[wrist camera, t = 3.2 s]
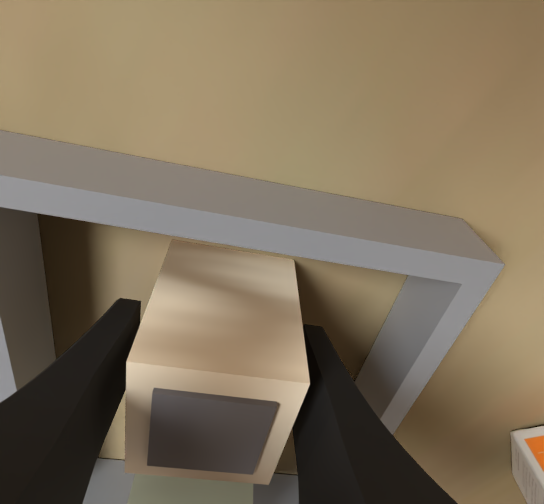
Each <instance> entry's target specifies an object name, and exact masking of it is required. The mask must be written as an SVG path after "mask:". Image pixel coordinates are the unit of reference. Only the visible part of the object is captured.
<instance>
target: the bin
mask: <svg viewBox="0 0 544 504" xmlns="http://www.w3.org/2000/svg"><path fill="white" fill-rule="evenodd" d="M37 213H40V214H46V215H52V216H58V217H64V218H70V219H76V220H82V221H88V222H94V223H100V224H106V225H112V226H118V227H124V228H130V229H136V230H142V231H148V232H154V233H160V234H166V235H172V236H178V237H184V238H190V239H196V240H202V241H208V242H214V243H220V244H226V245H232V246H238V247H244V248H250V249H256V250H262V251H268V252H274V253H280V254H286V255H292V256H298V257H304V258H310V259H316V260H322V261H328V262H334V263H340V264H346V265H352V266H358V267H364V268H370V269H376V270H382V271H388V272H394V273H400V274H406V275H408V277H407V279H406V281H405V283H404V285H403V287H402V289H401V291H400V293H399V295H398V297H397V299H396V301H395V303H394V305H393V307H392V309H391V310H390V312H389V314H388V316H387V318H386V320H385V322H384V324H383V326H382V328H381V330H380V332H379V334H378V336H377V338H376V340H375V342H374V344H373V346H372V348H371V350H370V352H369V354H368V356H367V358H366V360H365V362H364V364H363V366H362V368H361V370H360V372H359V374H358V376H357V378H356V380H355V384H356V386H357V387H358V389H359V390H360V392H361V393H362V395H363V396H364V398H365V399H366V401H367V402H368V403H369V405H370V406H371V408H372V409H373V411H374V412H375V413H376V415H377V416H378V417H379V419H380V420H381V421H382V423H383V424H384V425H385V426H386V428H387V429H388V430H389V431H390V433H391V434H392V435H393V434H394V432H395V431H396V429H397V428H398V426H399V425H400V423H401V422H402V420H403V419H404V417H405V416H406V414H407V413H408V411H409V410H410V408H411V407H412V405H413V403H414V402H415V400H416V399H417V397H418V396H419V394H420V393H421V391H422V390H423V388H424V387H425V385H426V384H427V382H428V381H429V379H430V378H431V376H432V375H433V373H434V372H435V370H436V369H437V367H438V366H439V364H440V363H441V361H442V360H443V358H444V356H445V355H446V353H447V352H448V350H449V349H450V347H451V346H452V344H453V343H454V341H455V340H456V338H457V337H458V335H459V334H460V332H461V331H462V329H463V328H464V326H465V325H466V323H467V322H468V320H469V319H470V317H471V316H472V314H473V313H474V311H475V309H476V308H477V306H478V305H479V303H480V302H481V300H482V299H483V297H484V296H485V294H486V293H487V291H488V290H489V288H490V287H491V285H492V284H493V282H494V281H495V279H496V278H497V276H498V275H499V273H500V272H501V270H502V269H503V267H504V266H505V264H504V263H503V262H502V261H501V260H500V259H499V257H498V256H497V255H496V254H495V253H494V252H493V251H492V250H491V249H490V248H489V247H488V246H487V245H486V244H485V243H484V241H483V240H482V239H481V238H480V237H479V236H478V235H477V234H476V233H475V232H474V231H473V230H472V229H471V228H470V227H469V225H468V224H467V223H466V222H465V221H464V220H463V219H460V218H455V217H450V216H445V215H439V214H434V213H429V212H424V211H419V210H413V209H408V208H403V207H398V206H393V205H387V204H382V203H377V202H372V201H367V200H361V199H356V198H351V197H346V196H341V195H335V194H330V193H325V192H320V191H315V190H309V189H304V188H299V187H294V186H289V185H283V184H278V183H273V182H268V181H262V180H257V179H252V178H247V177H242V176H236V175H231V174H226V173H221V172H216V171H210V170H205V169H200V168H195V167H190V166H184V165H179V164H174V163H169V162H164V161H158V160H153V159H148V158H143V157H138V156H132V155H127V154H122V153H117V152H111V151H106V150H101V149H96V148H91V147H85V146H80V145H75V144H70V143H65V142H59V141H54V140H49V139H44V138H39V137H33V136H28V135H23V134H18V133H13V132H7V131H2V130H0V402H2V401H3V400H5V399H6V398H8V397H9V396H10V395H12V394H13V393H15V392H16V391H17V390H19V389H20V388H21V387H23V386H24V385H25V384H27V383H28V382H29V381H31V380H32V379H33V378H34V377H36V376H37V375H38V374H39V373H41V372H42V371H43V370H44V369H46V368H47V367H48V366H49V365H50V364H52V363H53V362H54V361H55V360H56V355H55V348H54V340H53V332H52V324H51V316H50V309H49V301H48V293H47V285H46V278H45V270H44V262H43V254H42V246H41V239H40V231H39V223H38V215H37ZM134 476H135V474H133V473H125V461H124V460H113V459H101V458H97V460H96V463H95V466H94V469H93V472H92V475H91V479H90V482H89V485H88V488H87V491H86V494H85V498H84V501H83V504H127V502H128V499H129V495H130V491H131V487H132V483H133V480H134ZM253 504H299V489H298V476H297V475H286V474H274V473H273V475H272V478H271V480H270V483H269V485H266V484H254V483H253Z"/></svg>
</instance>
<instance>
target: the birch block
mask: <svg viewBox="0 0 544 504" xmlns="http://www.w3.org/2000/svg"><path fill="white" fill-rule="evenodd" d="M309 385H310V379H309V371H308V363H307V356H306V348H305V340H304V333H303V325H302V317H301V310H300V302H299V294H298V287H297V279H296V272H295V264H294V260H293V259H287V258H281V257H275V256H269V255H263V254H257V253H251V252H245V251H239V250H233V249H227V248H221V247H215V246H209V245H203V244H197V243H191V242H185V241H179V240H172V241H171V243H170V246H169V249H168V251H167V254H166V257H165V259H164V262H163V265H162V268H161V270H160V273H159V276H158V278H157V281H156V284H155V286H154V289H153V292H152V294H151V297H150V300H149V302H148V305H147V308H146V310H145V313H144V316H143V318H142V321H141V324H140V326H139V329H138V332H137V334H136V337H135V340H134V342H133V345H132V348H131V350H130V353H129V356H128V358H127V361H126V416H125V473H133V474H145V475H157V476H169V477H181V478H193V479H205V480H217V481H229V482H241V483H254V484H266V485H269V483H270V480H271V478H272V475H273V473H274V471H275V468H276V466H277V463H278V461H279V458H280V456H281V454H282V451H283V449H284V446H285V444H286V441H287V439H288V437H289V434H290V432H291V429H292V427H293V424H294V422H295V420H296V417H297V415H298V412H299V410H300V407H301V405H302V403H303V400H304V398H305V395H306V393H307V390H308V388H309Z"/></svg>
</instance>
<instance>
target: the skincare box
mask: <svg viewBox="0 0 544 504" xmlns="http://www.w3.org/2000/svg"><path fill="white" fill-rule="evenodd" d="M510 435H511V453H512V474H513V476H514V479H515V481H516V482H517V484H518V486H519V488H520V490H521V492H522V494H523V496H524V498H525V500H526V502H527V504H544V426H539V427H534V428H529V429H519V430H514V431H511V433H510Z"/></svg>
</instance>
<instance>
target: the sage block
mask: <svg viewBox="0 0 544 504" xmlns="http://www.w3.org/2000/svg"><path fill="white" fill-rule="evenodd" d="M127 504H253V483H241V482H229V481H217V480H205V479H193V478H181V477H169V476H157V475H145V474H135V476H134V480H133V483H132V487H131V491H130V495H129V499H128V502H127Z"/></svg>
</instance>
